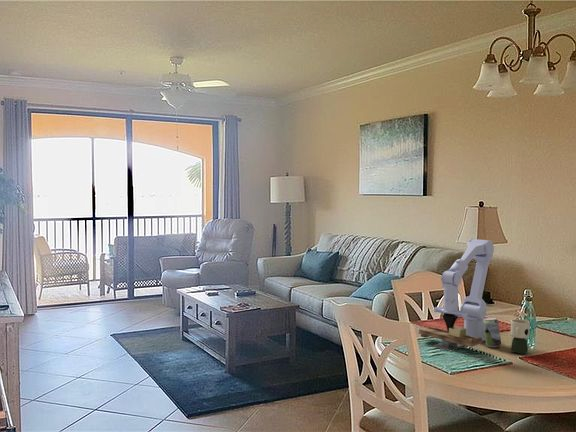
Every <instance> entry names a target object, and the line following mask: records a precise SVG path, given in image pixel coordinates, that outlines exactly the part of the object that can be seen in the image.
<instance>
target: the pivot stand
mask: <svg viewBox="0 0 576 432" xmlns="http://www.w3.org/2000/svg"><path fill="white" fill-rule="evenodd" d="M463 346H464V347H466V346H465V345H461V344H457V343H453V342H449V341H445V340H441V342H439V343H437V344H433V345H432V348H433V347H436V348H435V349H437V348H440V349H439V350H441V349H444V350H443V351H445V350H448V351H447V352H449V351H450V350H453V351H455V350H454V349H456V348H458V349H460V348H459V347H461V348H463ZM456 350H457V349H456ZM450 352H451V351H450Z"/></svg>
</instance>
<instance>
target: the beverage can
mask: <svg viewBox="0 0 576 432" xmlns="http://www.w3.org/2000/svg"><path fill="white" fill-rule="evenodd" d="M483 323H484V332H485V340H486V341H485V346H487V347H488V348H498V347H500V346H501V345H502V338H501V331H500V323H499V320H498V319H497V318H496V317H488V318H484V322H483Z"/></svg>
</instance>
